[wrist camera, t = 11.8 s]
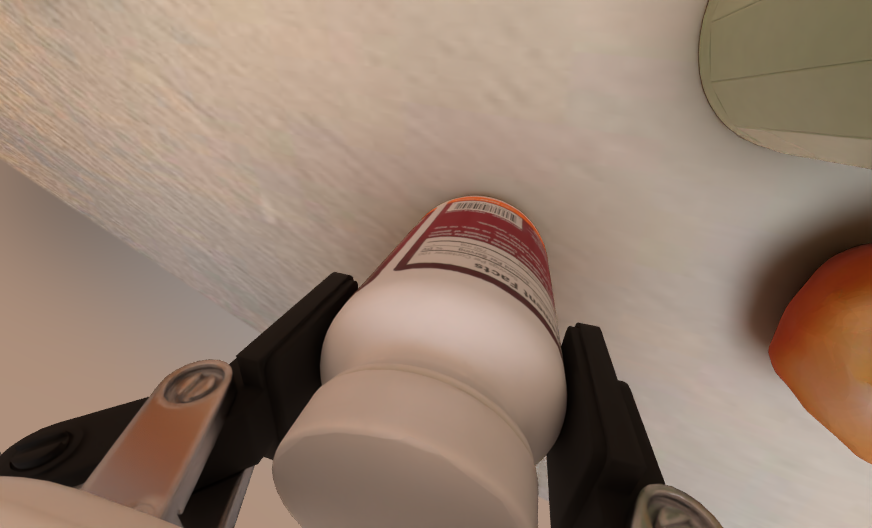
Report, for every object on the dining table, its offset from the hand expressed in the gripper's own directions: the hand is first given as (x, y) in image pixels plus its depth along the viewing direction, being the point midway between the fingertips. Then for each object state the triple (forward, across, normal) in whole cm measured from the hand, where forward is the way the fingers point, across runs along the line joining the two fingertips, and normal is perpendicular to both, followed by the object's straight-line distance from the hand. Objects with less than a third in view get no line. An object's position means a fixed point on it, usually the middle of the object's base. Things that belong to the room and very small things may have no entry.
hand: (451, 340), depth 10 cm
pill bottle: (+6, 0, 0) cm, 6 cm away
